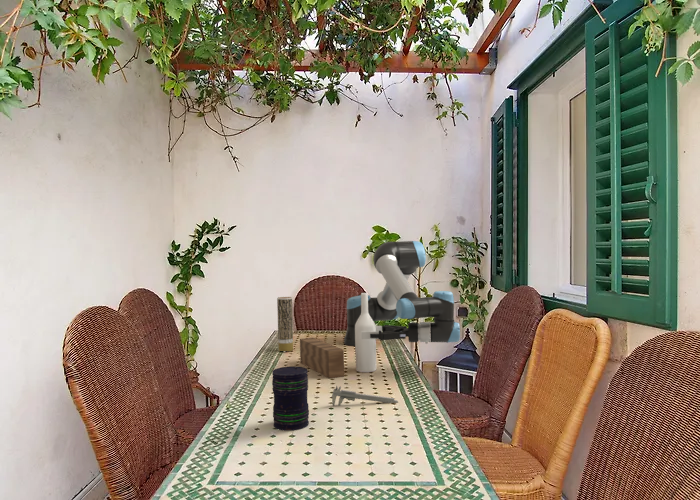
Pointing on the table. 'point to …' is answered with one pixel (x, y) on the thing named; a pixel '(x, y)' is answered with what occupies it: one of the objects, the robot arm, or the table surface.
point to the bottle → (365, 347)
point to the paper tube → (285, 323)
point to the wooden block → (322, 357)
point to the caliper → (357, 396)
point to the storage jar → (290, 398)
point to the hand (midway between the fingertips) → (363, 332)
